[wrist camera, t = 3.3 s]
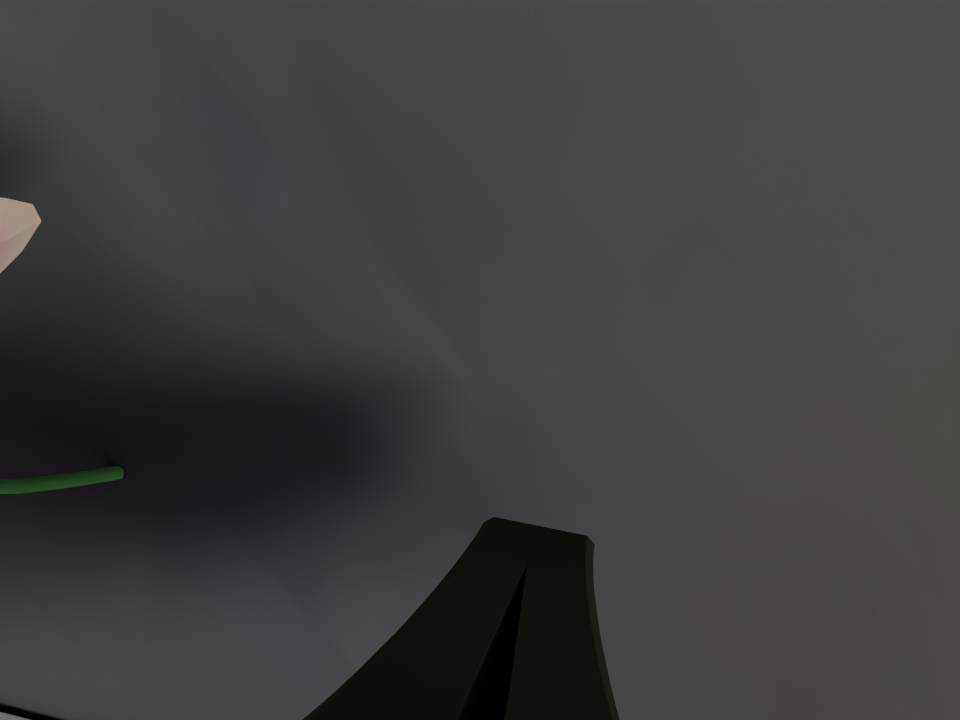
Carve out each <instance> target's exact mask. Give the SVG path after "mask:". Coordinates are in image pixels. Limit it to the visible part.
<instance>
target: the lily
mask: <svg viewBox="0 0 960 720" xmlns="http://www.w3.org/2000/svg"><path fill="white" fill-rule="evenodd" d="M40 223H41V219H40V217H39V215H38V213H37V211H36V210H35V208H34V206H33V204H29V203H25V202H20V201H16V200H12V199H7V198H0V273H1V272H2V271H3V270H4V269H5V268H6V267H7V266H8V265H9V264H10V263H11V262H12V261H13V260H14V259H15V258H16V257H17V256H18V255H19V254H20V253H21V252H22V251H23V249H24V248H25V246H26V245H27V243H28V241H29V240H30V238H31V237H32V235H33V234H34V232H35V231H36V229H37V227H38V226H39V224H40ZM123 476H124V471H123V468H121V467H119V466H111V467H104V468H98V469H91V470H85V471H78V472H72V473H64V474H54V475H45V476H35V477H26V478H0V494H22V493H31V492H39V491H47V490H55V489H64V488H71V487H77V486H83V485H89V484H95V483H101V482H107V481H113V480H119V479H122V478H123Z"/></svg>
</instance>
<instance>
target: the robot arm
mask: <svg viewBox="0 0 960 720" xmlns="http://www.w3.org/2000/svg"><path fill="white" fill-rule="evenodd" d="M593 553H594V544H593V542H592V541H591V540H590V539H589V537H588V536H586V535H581V534H576V533H571V532H566V531H561V530H556V529H551V528H546V527H541V526H536V525H531V524H526V523H521V522H516V521H511V520H506V519H501V518H496V517H493V518H491V519H489V520H487V521H485V522H484V523H483V525H482V527H481V528H480V530H479V532H478V533H477V535H476V536H475V538H474V539H473V540H472V542H471V543H470V545H469V546H468V548H467V549H466V550H465V552H464V553H463V554H462V556H461V557H460V558H459V560H458V561H457V562H456V564H455V565H454V566H453V567H452V569H451V570H450V571H449V572H448V574H447V575H446V576H445V577H444V579H443V580H442V581H441V582H440V584H439V585H438V586H437V587H436V588H435V589H434V591H433V592H432V593H431V594H430V595H429V596H428V597H427V599H426V600H425V601H424V602H423V603H422V604H421V605H420V606H419V608H418V609H417V610H416V611H415V612H414V613H413V614H412V616H411V617H410V618H409V619H408V620H407V621H406V622H405V623H404V625H403V626H402V627H401V628H400V629H399V630H398V631H397V632H396V633H395V634H394V635H393V636H392V637H391V638H390V639H389V640H388V641H387V642H386V643H385V644H384V645H383V646H382V647H381V648H380V649H379V650H378V651H377V652H376V653H375V654H374V655H373V656H372V657H371V658H370V659H369V660H368V661H367V662H366V663H365V664H364V665H363V666H362V667H361V668H360V669H359V670H358V671H357V672H356V673H355V674H354V675H353V676H352V677H351V678H350V679H348V680H347V681H346V682H345V683H344V684H343V685H342V686H341V687H340V688H339V689H338V690H336V691H335V692H334V693H333V694H332V695H331V696H330V697H329V698H327V699H326V700H325V701H324V702H323V703H322V704H321V705H319V706H318V707H317V708H316V709H315V710H313V711H312V712H311V713H310V714H309V715H308V716H306V717H305V718H304V719H303V720H619V716H618V713H617V709H616V705H615V701H614V697H613V693H612V689H611V685H610V681H609V676H608V671H607V666H606V661H605V657H604V652H603V647H602V642H601V637H600V631H599V625H598V618H597V610H596V602H595V594H594V581H593ZM0 720H31V719H27V718H23V717H19V716H16V715H12V714H8V713H4V712H0Z"/></svg>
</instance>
